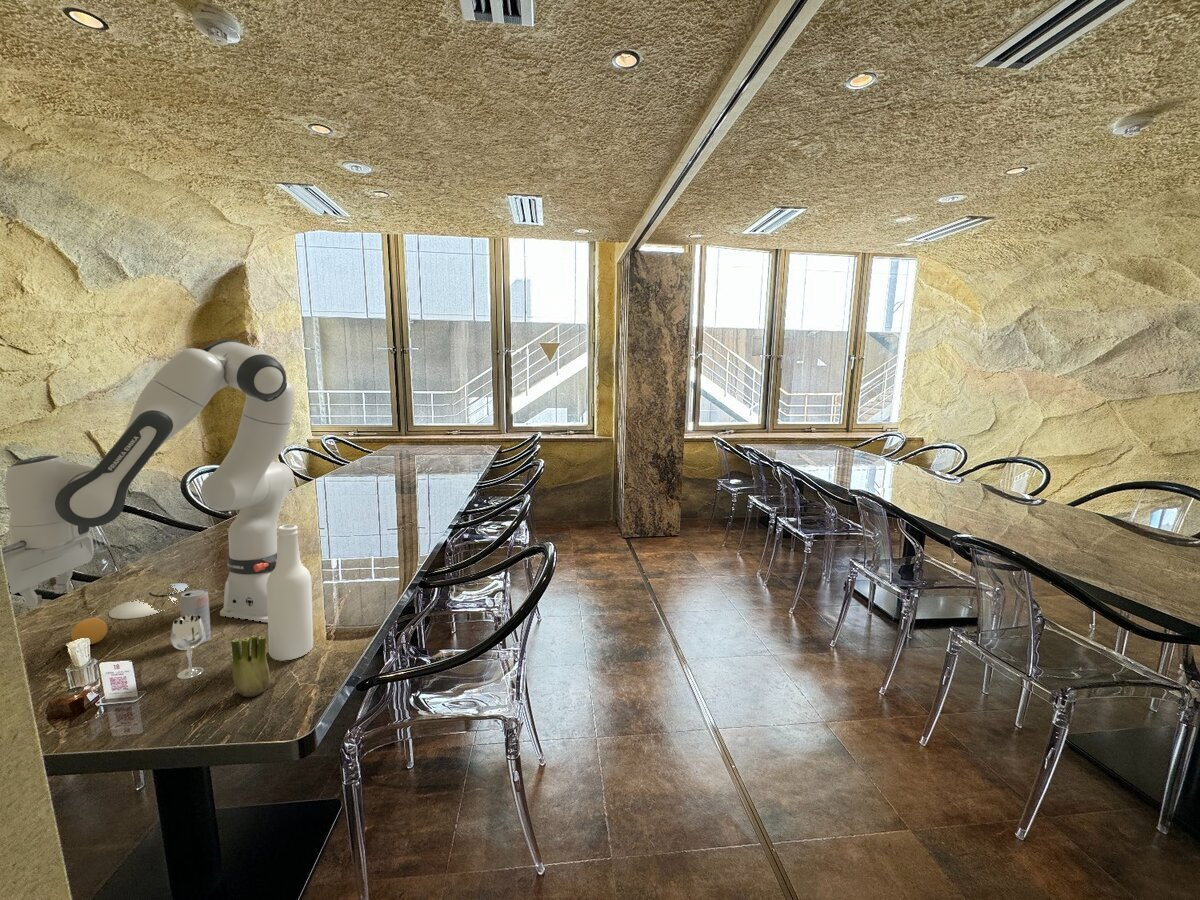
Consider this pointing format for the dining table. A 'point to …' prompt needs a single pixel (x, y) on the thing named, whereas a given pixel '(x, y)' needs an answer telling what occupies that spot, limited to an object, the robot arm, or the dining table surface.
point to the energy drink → (197, 607)
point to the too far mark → (179, 587)
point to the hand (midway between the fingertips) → (48, 598)
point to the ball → (90, 630)
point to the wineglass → (188, 640)
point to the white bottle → (289, 600)
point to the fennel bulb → (250, 666)
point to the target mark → (134, 610)
